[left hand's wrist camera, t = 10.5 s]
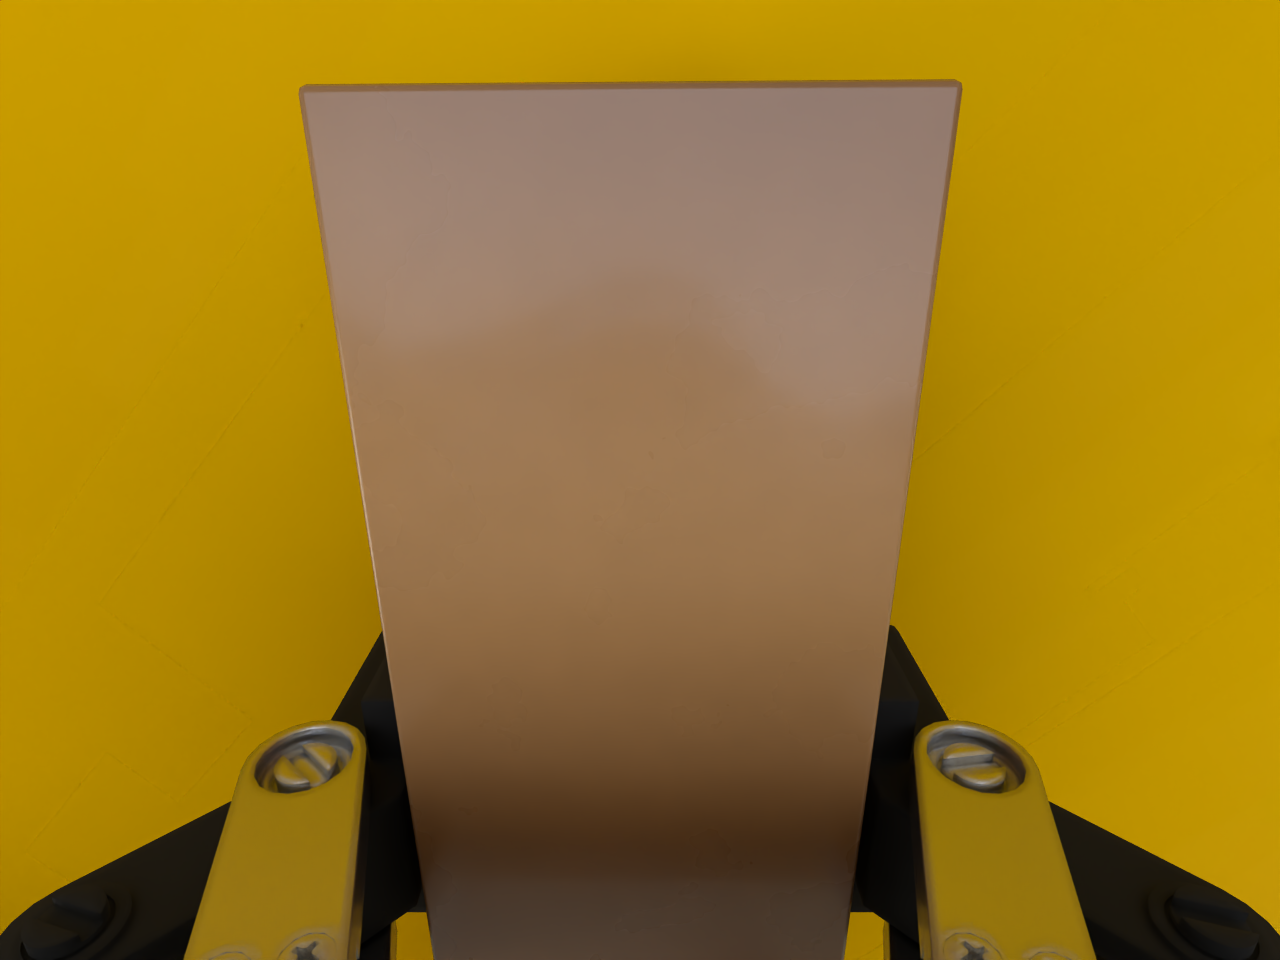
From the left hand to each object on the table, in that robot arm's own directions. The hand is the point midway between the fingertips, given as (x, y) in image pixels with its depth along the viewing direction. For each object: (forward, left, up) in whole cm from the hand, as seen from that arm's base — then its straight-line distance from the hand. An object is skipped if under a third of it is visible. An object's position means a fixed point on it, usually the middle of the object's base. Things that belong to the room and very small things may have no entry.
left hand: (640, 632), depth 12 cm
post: (-14, -15, -3) cm, 21 cm away
